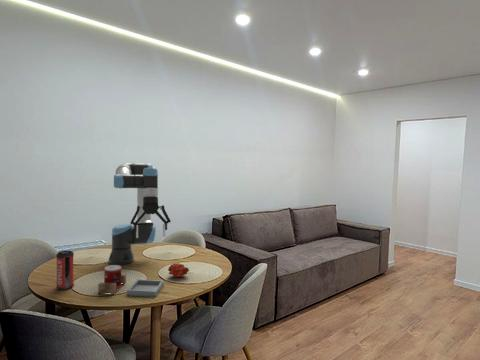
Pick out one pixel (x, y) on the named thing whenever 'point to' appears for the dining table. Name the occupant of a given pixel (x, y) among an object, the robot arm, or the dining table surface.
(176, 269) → the dragon fruit
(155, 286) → the tray
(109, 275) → the canned food
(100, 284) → the tan block
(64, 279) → the speaker
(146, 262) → the dining table surface
